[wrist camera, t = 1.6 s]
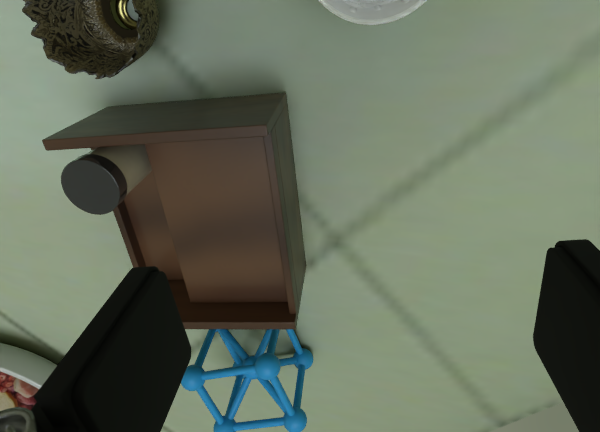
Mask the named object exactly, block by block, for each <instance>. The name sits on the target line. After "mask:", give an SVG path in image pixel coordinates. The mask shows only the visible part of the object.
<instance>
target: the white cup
mask: <svg viewBox="0 0 600 432" xmlns="http://www.w3.org/2000/svg"><path fill="white" fill-rule="evenodd" d="M318 1H319V2H320V3H321V4H322V5H323V6H324V7H325V8H326V9H327V10H329V11H330V12H331V13H333V14H334V15H336V16H338V17H340V18H342V19H344V20H346V21H349V22H352V23H356V24H362V25H379V24H385V23H389V22H393V21H396V20H398V19H401V18H403V17H405V16H407V15H408V14H410V13H412V12H413V11H415V10H416V9H418V8H419V7H420V6H421V5H422V4H424V3H425V2H426V1H427V0H318Z"/></svg>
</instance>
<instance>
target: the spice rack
mask: <svg viewBox="0 0 600 432" xmlns="http://www.w3.org/2000/svg"><path fill="white" fill-rule="evenodd" d="M42 142H43V144H44V146H45V149H46V150H63V149H79V148H91V150H93V149H95V148H97V147H109V146H125V145H140V144H145V148H146V151H147V154H148V158H149V161H150V165H151V168H152V172H151V173H150V174H149V175H148V176H147V177H146V178H145V179H144V180H143V181H142V182H141V183H139V184H138V185H137V186H136V187H135V188H134V189H133V190H132V191H131V192H130V193H129V194H128V195H127V196H126V197H125V199H124V200H123V201H122V202H121V203H120V204H119V205H118V206H117V207H116V208H115V209H114V210H113V212H114V214H115V217H116V220H117V223H118V226H119V228H120V231H121V234H122V237H123V240H124V242H125V245H126V248H127V251H128V254H129V256H130V259H131V262H132V265H133V268H135V267H148V266H155V267H157V268H158V269H159V271H163V272H164V273H165V274H166V276H167V279H168V282H169V285H170V288H171V291H172V294H173V297H174V300H175V303H176V305H177V308H178V311H179V314H180V317H181V320H182V323H183V326H184V329H296V325H297V319H298V313H299V307H300V301H301V295H302V289H303V283H304V277H305V270H306V261H305V252H304V243H303V235H302V226H301V217H300V209H299V200H298V192H297V183H296V174H295V166H294V157H293V148H292V140H291V131H290V123H289V114H288V105H287V97H286V93H274V94H261V95H249V96H236V97H224V98H211V99H199V100H186V101H174V102H161V103H148V104H136V105H123V106H111V107H106V108H104V109H102V110H100V111H98V112H96V113H95V114H93V115H91V116H89V117H87V118H85V119H83V120H81V121H79V122H77V123H75V124H73V125H71V126H69V127H67V128H65V129H63V130H61V131H59V132H57V133H55V134H53V135H51V136H49V137H47V138H45V139H43V140H42Z"/></svg>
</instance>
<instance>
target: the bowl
mask: <svg viewBox="0 0 600 432" xmlns="http://www.w3.org/2000/svg"><path fill="white" fill-rule="evenodd" d="M56 367H57V365H56V364H54V363H53V362H51V361H49V360H47V359H45V358H43V357H41V356H39V355H37V354H34V353H32V352H29V351H27V350H24V349H21V348H18V347H15V346H11V345H7V344H3V343H0V411H2V410H5V409H9V408H14V407H24V408H27V409H29V410H31V409H32V408H33V406H34V405H35V404H36V402H37V401H36V399H35V398H34V396H35V394H36V393H37V392H38V390H39V389H40V388H41V386H42V385H43V384H44V382H45V381H46V380H47V379H48V377H49V376H50V375H51V373H52V372H53V371H54V369H55V368H56Z"/></svg>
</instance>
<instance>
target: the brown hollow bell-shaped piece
mask: <svg viewBox="0 0 600 432" xmlns="http://www.w3.org/2000/svg"><path fill="white" fill-rule="evenodd" d="M23 1H25V2H26V4H25V6H24V8H23V9H22V11H23V12H24V13H25V14H26V15H27V16H28V17H30V18H31V20H32V21H34V22H36V23H37V25H36V26H35V27H33V30H32V32H31V35H32V36H34V37H37V38H40V39H42V41H43V43H44V46H43V49H44V51H45V53H46V56H47V58H48V59H50V60H51V61H53V62H56V63H58V64H60V65H62V66H64V67H65V70H66V71H67V72H69V73H72V74H76V73H78V72H86V73H88V74H89V75H97V77H96V78H95V79H101V78H104V77H108V78H110V77H113V76H115V75H117V74H118V73H119V72H120V71H122V70H123V69H125V68H126V67H128V66H129V65H131V64H132V63H133V62H135V61H136V60H137V59H139V58H140V57H141V56H143V55H144V54H145V53H146V52H147V51H148V50H149V48H150V47H151V46H152V44H153V42H154V41H155V38H156V36H157V33H158V28H159V13H158V7H157V4H156V1H155V0H132V3H133V5H134V9H135V12H136V13H138V15H139V18H138V21H134V20H133V19H131V18H130V17H129V15H128V13H127V10H126V5H127V2H128V1H129V0H23Z"/></svg>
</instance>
